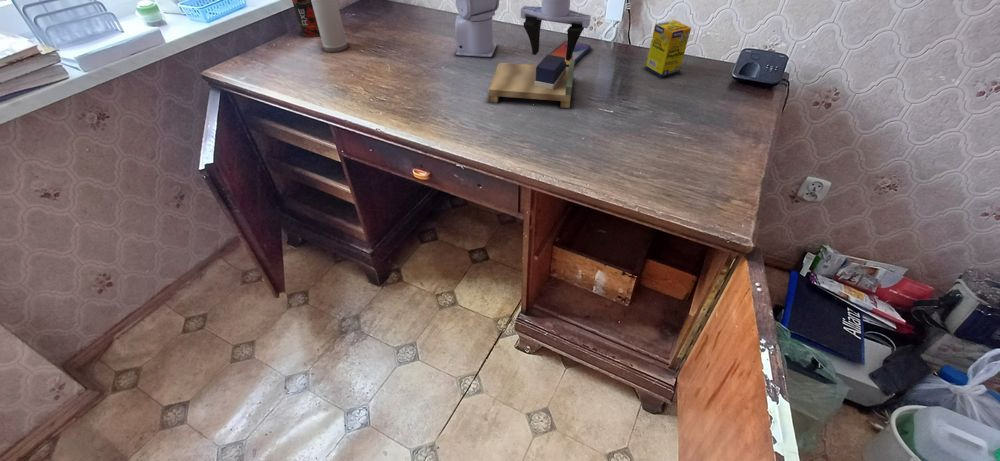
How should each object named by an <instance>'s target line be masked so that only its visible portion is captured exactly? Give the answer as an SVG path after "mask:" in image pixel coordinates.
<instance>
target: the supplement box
mask: <svg viewBox="0 0 1000 461" xmlns="http://www.w3.org/2000/svg"><path fill="white" fill-rule="evenodd" d="M691 30H692V27H690V26H688V25H687V24H684V23H682V22H680V21H678V20H676V19H673V20H669V21H665V22H660V23H659V22H658V23H655V24H654V28H653V33H652V37H651V41H650V46H649V50H648V55H647V60H646V64H645V69H646V70H647V71H649V72H651V73H652V74H654V75H656V76H657V77H659V78H664V77H667V76H671V75H674V74H679V73H680V70H681V67H682V63H683V60H684V56H685V52H686V49H687V46H688V45H687V44H688V41H689V38H690V34H691Z"/></svg>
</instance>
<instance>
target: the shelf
mask: <svg viewBox="0 0 1000 461" xmlns="http://www.w3.org/2000/svg"><path fill="white" fill-rule="evenodd" d="M575 64H576V63H575V59H570V62H569V67H566V73H565V74H564V75H563V77H562V78H561V79H560V81H559V82H558V83H557V85H556V86H555V87H554V89H549V88H543V87H538V86H534V82H535V81H536V67H537V66H538V64H527V63H512V62H511V63H510V62H498V64H497V67H496V69H495V72H494V74H493V76H492V80H491V82H490V84H489V87H488V102H489V103H498V102H499V100H500V97H501V98H502V97H503V98H515V99H529V100H541V101H542V100H543V101H544V100H545V101H554V102H560V108H564V109H570V108H571V98H572V91H573V90H572V89H573V83H574V72H575Z"/></svg>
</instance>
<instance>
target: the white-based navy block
mask: <svg viewBox="0 0 1000 461" xmlns="http://www.w3.org/2000/svg"><path fill="white" fill-rule="evenodd" d="M549 54H550V53H549ZM549 54H546V55H545V56H544V58H542V60H540V62H539V63H538V64H537V65H538V66H537V67H536V81H535V82H534V86H538V87H543V88H549V89H554V87H555V86H556V85H557V83H558V82H559V81H560V79H561V78H562V77H563V75H564V74H565V73H566V62H565V57H560V56H554V55H549Z"/></svg>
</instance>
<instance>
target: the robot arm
mask: <svg viewBox="0 0 1000 461" xmlns="http://www.w3.org/2000/svg"><path fill="white" fill-rule="evenodd" d="M455 6H456V10H457V13H458V14H457V16H456V18H455V23H454V24H455V25H454V28H455V29H454V31H455V32H454V33H455V46H456V53H455V54H456V56H466V57H478V58H479V57H480V58H492V57H493V56H494V52H495V50H496V49H497V43H494V33H493V32H494V31H493V26H494V24H493V20H494V19H493V17H494V16H495V15H496V11H497V10H498V8H499V6H500V0H455ZM570 8H571V0H541V6H528V5H524V6H522V8H520V19H521V20H522V19H523V20H524V22H523V28H524V30H525V32H526V34H527V36H528V39H529V43H530V46H531V52H532V55H533V56H536V55H537V54H538V53H539V52H540V37H541V36H540V35H541V27H542V23H543V22H542V21H545V22H551V23H558V24H565V25H570V26H569V27H568V28H567V30H566V35H567V41H568V45H567V53H566V61H569V60H570V59H571V58H572V54H573V51H574V48H575V45H576V43H578V41H579V38H580V37H581V35H582V33H583V31H584V29H588V28H589V27H590V25H591V19H592V18H591V17H592V15H591V14H586V13H581V12H578V11H574V10H572V9H570Z"/></svg>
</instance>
